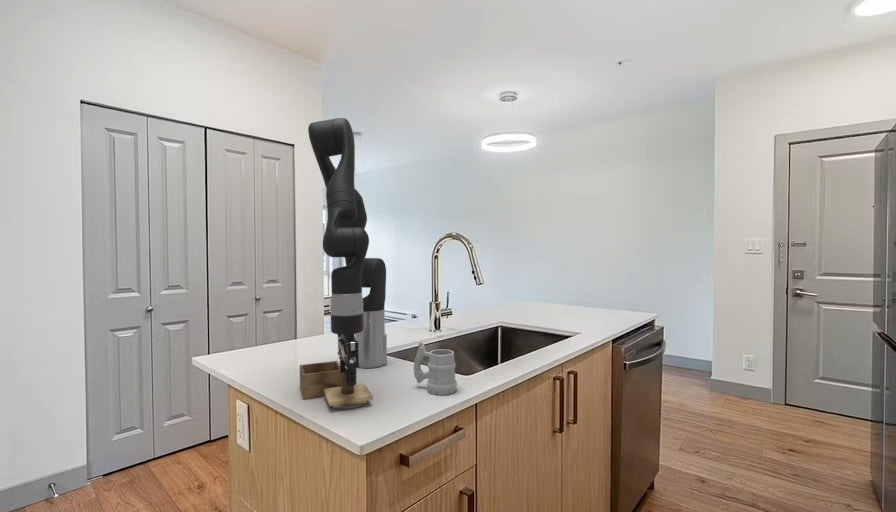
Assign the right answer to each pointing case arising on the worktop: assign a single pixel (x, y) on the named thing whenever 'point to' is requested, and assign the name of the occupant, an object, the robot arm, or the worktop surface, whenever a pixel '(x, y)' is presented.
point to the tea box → (319, 378)
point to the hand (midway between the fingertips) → (348, 379)
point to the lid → (347, 394)
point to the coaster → (349, 406)
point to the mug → (437, 370)
